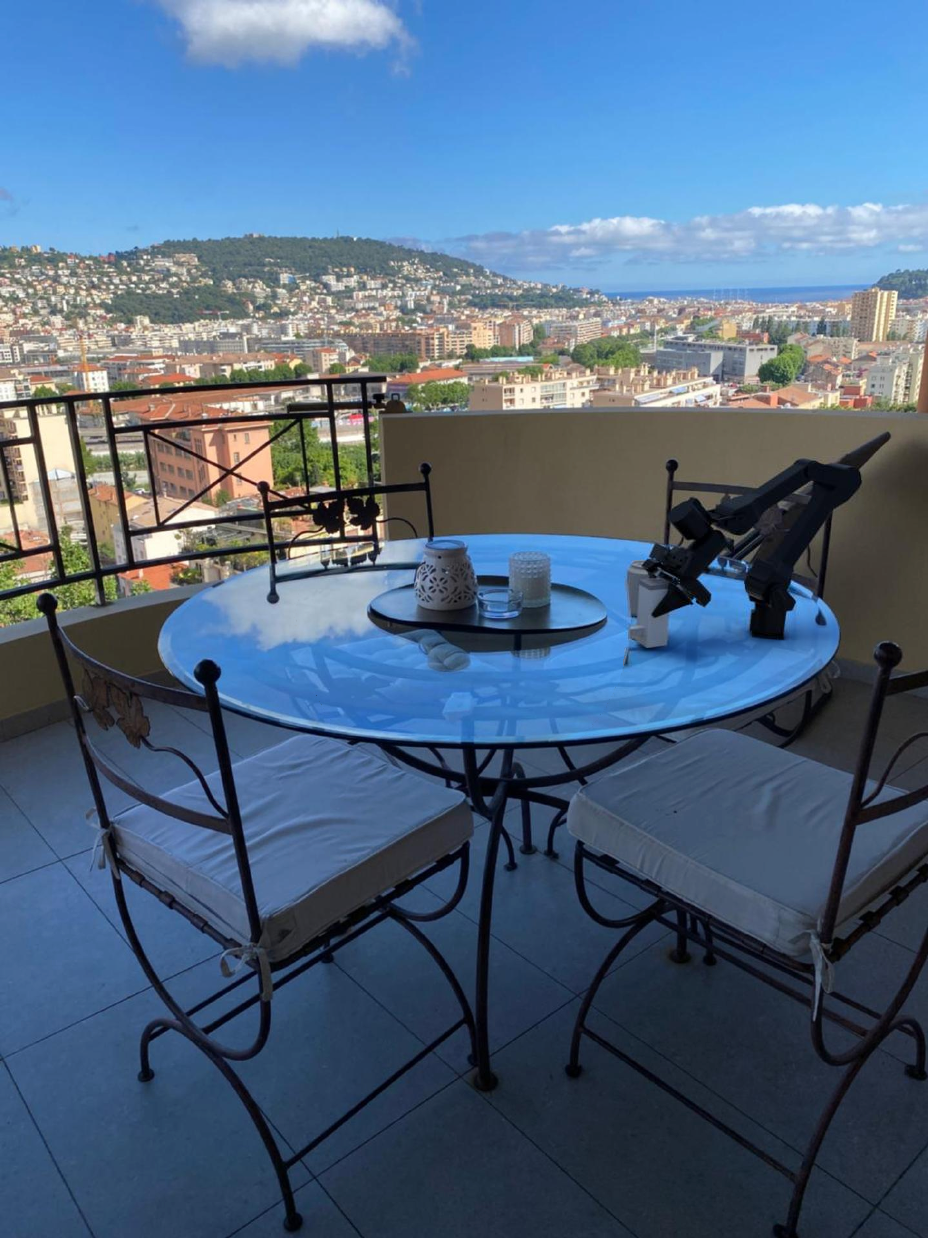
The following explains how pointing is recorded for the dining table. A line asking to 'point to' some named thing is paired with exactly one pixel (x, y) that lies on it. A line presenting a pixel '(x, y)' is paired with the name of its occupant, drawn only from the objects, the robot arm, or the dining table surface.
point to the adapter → (648, 627)
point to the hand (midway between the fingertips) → (646, 612)
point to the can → (635, 583)
